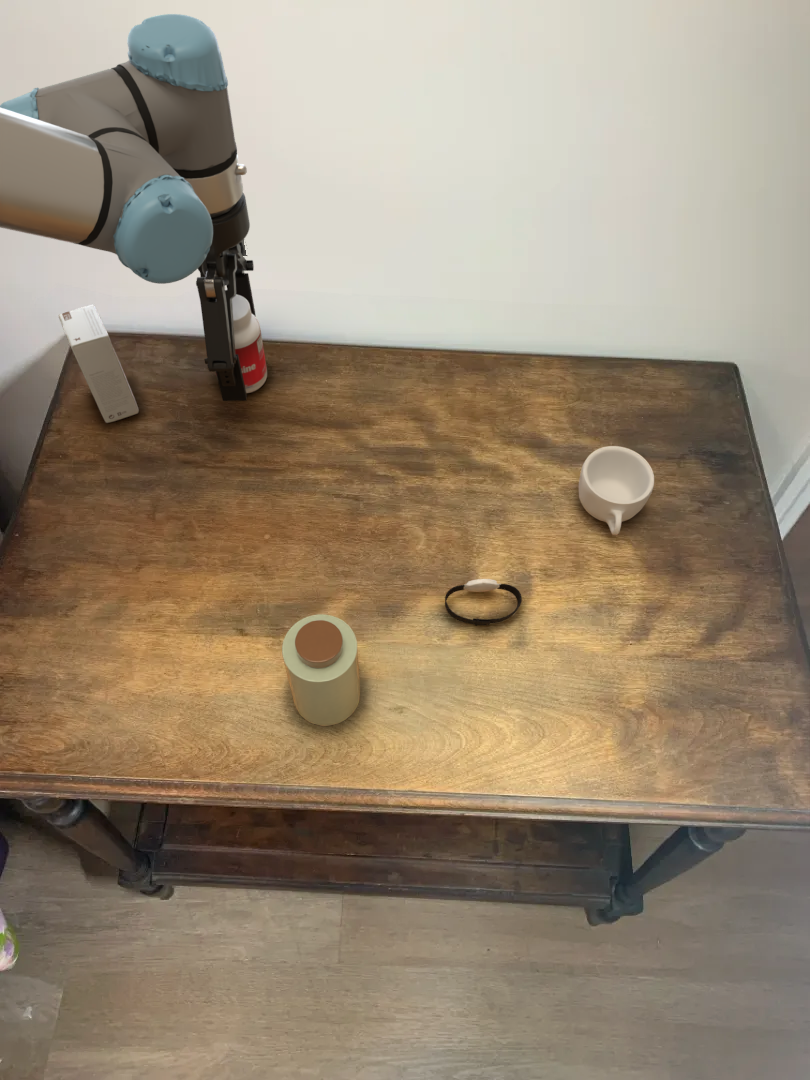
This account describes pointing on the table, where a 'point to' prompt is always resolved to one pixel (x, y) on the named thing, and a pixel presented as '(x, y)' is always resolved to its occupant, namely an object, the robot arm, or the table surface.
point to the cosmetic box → (99, 363)
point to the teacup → (615, 485)
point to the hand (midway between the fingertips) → (240, 357)
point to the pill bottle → (248, 344)
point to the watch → (483, 586)
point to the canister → (322, 669)
